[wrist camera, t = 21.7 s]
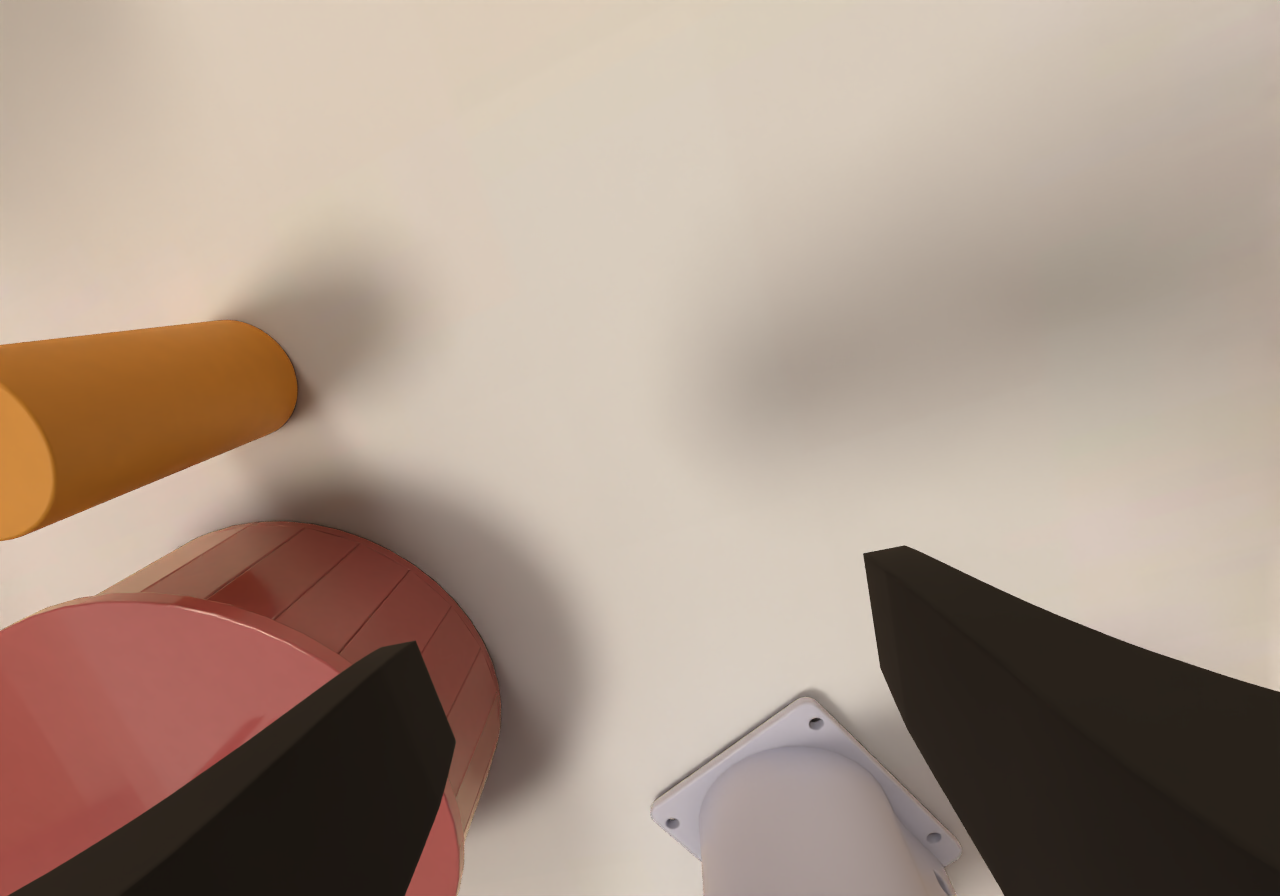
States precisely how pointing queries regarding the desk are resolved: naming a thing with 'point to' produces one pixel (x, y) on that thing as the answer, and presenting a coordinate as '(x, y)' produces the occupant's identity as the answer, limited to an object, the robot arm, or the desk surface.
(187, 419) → the candle
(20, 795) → the lid
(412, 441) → the desk surface
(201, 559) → the pot
